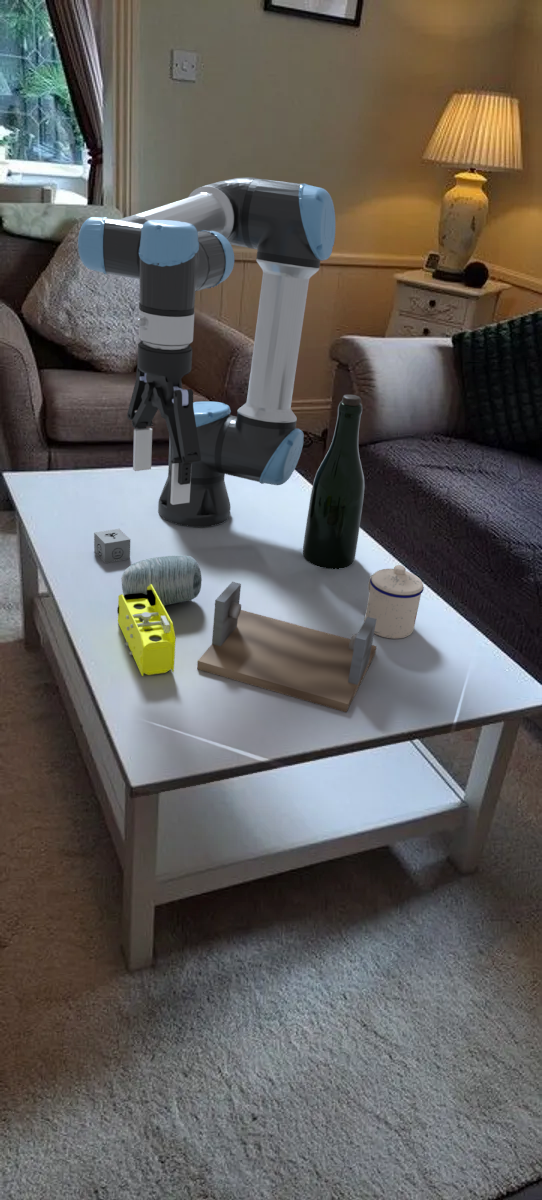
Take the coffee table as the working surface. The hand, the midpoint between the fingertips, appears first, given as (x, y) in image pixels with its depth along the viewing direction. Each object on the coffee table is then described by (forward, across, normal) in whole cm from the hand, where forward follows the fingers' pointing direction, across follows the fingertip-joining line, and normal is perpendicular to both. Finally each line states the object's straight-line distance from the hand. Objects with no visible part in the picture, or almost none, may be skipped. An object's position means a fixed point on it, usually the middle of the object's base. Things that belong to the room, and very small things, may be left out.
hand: (160, 485), depth 129 cm
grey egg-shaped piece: (+25, -6, +6) cm, 27 cm away
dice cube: (+26, -25, +3) cm, 36 cm away
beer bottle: (+26, -11, +42) cm, 51 cm away
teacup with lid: (+26, +13, +38) cm, 48 cm away
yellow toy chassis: (+25, +6, -4) cm, 26 cm away
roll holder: (+25, +17, +15) cm, 34 cm away
